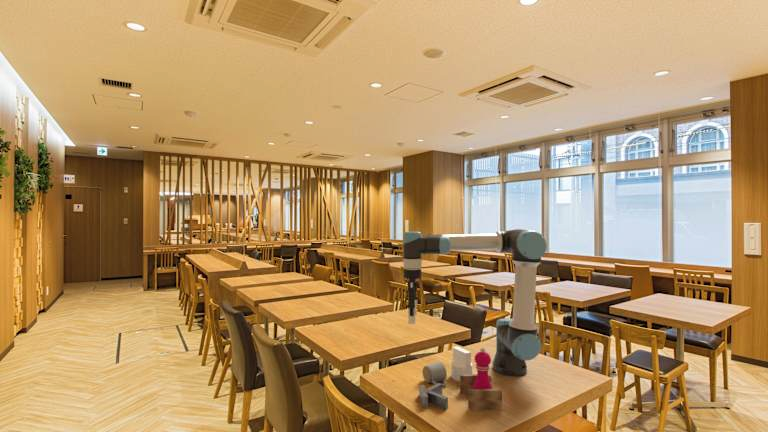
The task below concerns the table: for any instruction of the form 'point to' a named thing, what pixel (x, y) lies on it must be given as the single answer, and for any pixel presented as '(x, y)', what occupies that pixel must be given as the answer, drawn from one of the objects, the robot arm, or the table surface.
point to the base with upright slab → (460, 363)
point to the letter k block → (433, 396)
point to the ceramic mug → (435, 373)
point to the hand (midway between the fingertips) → (412, 319)
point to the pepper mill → (482, 370)
